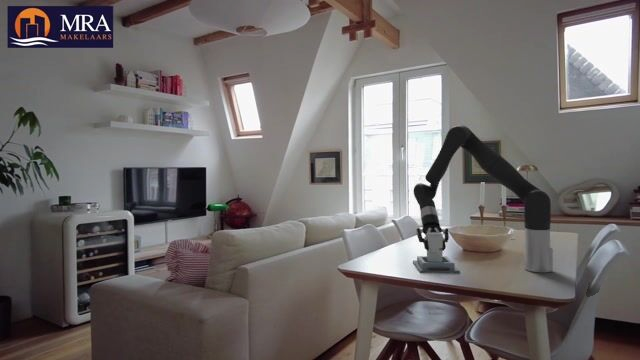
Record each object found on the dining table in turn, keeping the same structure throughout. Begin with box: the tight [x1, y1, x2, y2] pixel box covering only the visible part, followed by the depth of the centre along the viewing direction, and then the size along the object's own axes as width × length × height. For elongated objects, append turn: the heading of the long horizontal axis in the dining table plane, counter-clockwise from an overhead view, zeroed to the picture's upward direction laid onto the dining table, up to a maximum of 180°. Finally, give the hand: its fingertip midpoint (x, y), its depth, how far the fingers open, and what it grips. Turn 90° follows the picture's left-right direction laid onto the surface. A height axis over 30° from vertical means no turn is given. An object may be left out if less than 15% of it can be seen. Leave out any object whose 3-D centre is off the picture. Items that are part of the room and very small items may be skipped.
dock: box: [412, 255, 461, 274], centre depth 162 cm, size 16×18×4 cm
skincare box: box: [426, 232, 444, 262], centre depth 162 cm, size 6×4×12 cm
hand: (435, 249), depth 160 cm, fingers closed on skincare box, 6 cm apart
